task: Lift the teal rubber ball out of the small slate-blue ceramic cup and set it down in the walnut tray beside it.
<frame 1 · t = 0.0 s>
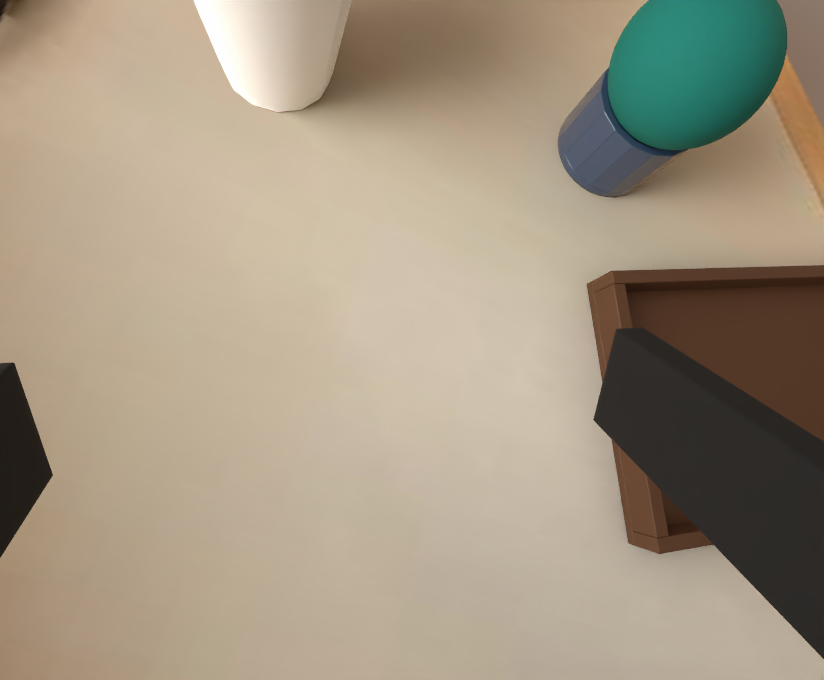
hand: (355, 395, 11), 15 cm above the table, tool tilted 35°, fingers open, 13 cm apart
foam cup: (278, 67, 29), on the table
ball: (690, 67, 25), point 8 cm above the table, touching cup
cup: (602, 151, 33), on the table
tray: (752, 393, 32), on the table
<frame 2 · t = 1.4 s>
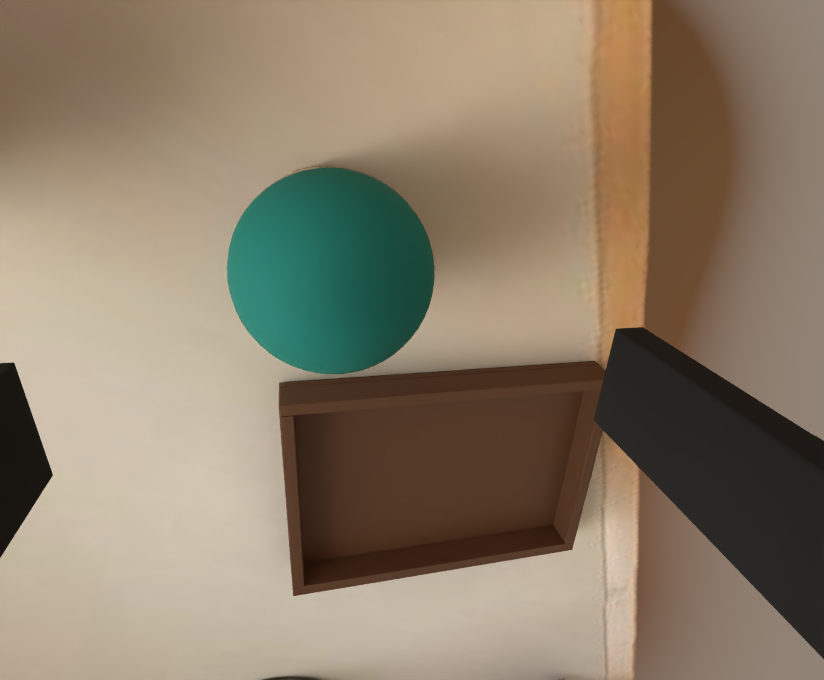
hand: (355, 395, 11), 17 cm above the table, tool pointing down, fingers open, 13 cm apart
ball: (334, 273, 19), point 8 cm above the table, touching cup
tray: (440, 465, 35), on the table
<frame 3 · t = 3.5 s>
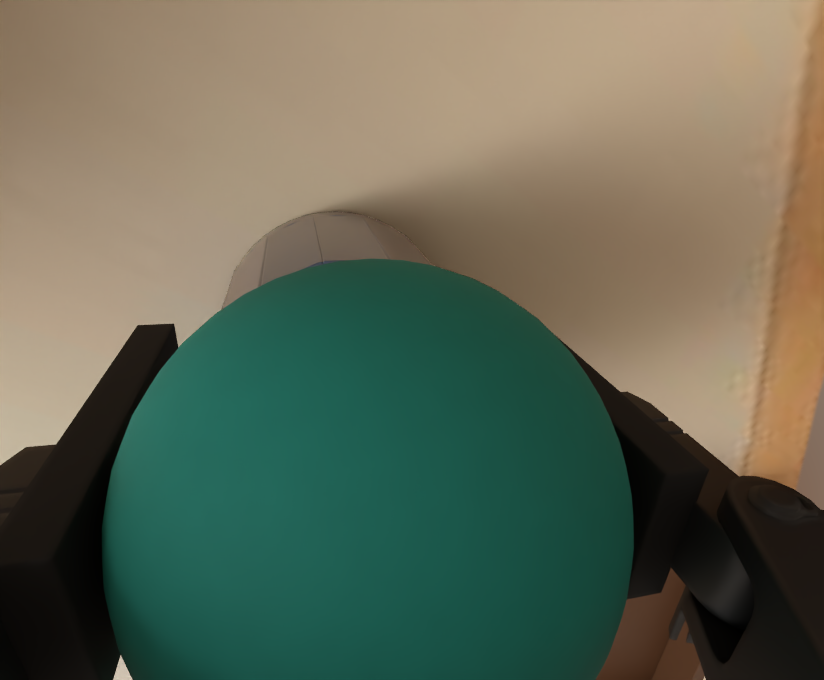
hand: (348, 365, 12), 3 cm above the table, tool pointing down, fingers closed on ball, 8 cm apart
ball: (377, 494, 8), point 8 cm above the table, touching cup, gripper
cup: (337, 317, 15), on the table
tray: (505, 624, 24), on the table
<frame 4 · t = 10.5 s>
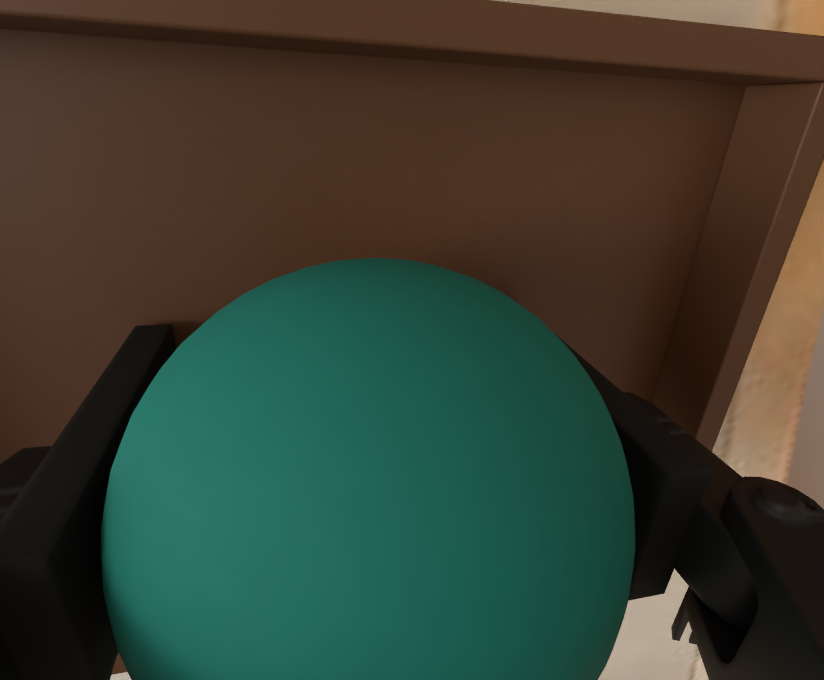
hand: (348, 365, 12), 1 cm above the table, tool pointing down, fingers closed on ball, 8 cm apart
ball: (378, 494, 8), point 6 cm above the table, touching gripper
tray: (339, 353, 13), on the table
when the fingers open (1 cm above the table, at t = 14.9 s): ball drops 1 cm and tips over, resting on tray.
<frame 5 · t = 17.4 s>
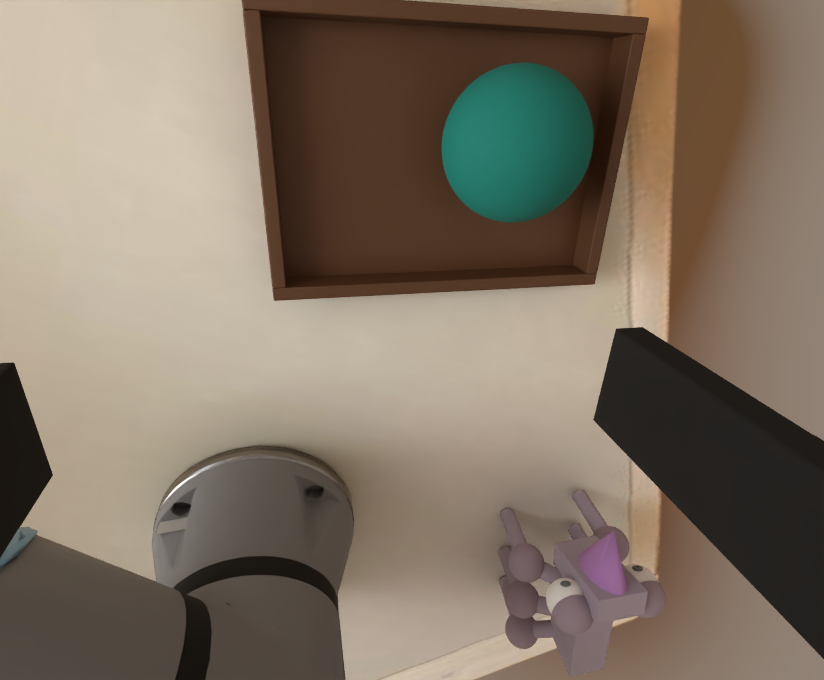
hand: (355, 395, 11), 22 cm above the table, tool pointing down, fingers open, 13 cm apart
ball: (515, 146, 26), point 5 cm above the table, tilted 45°, touching tray
tray: (441, 160, 30), on the table
toy sheep: (536, 509, 47), on the table
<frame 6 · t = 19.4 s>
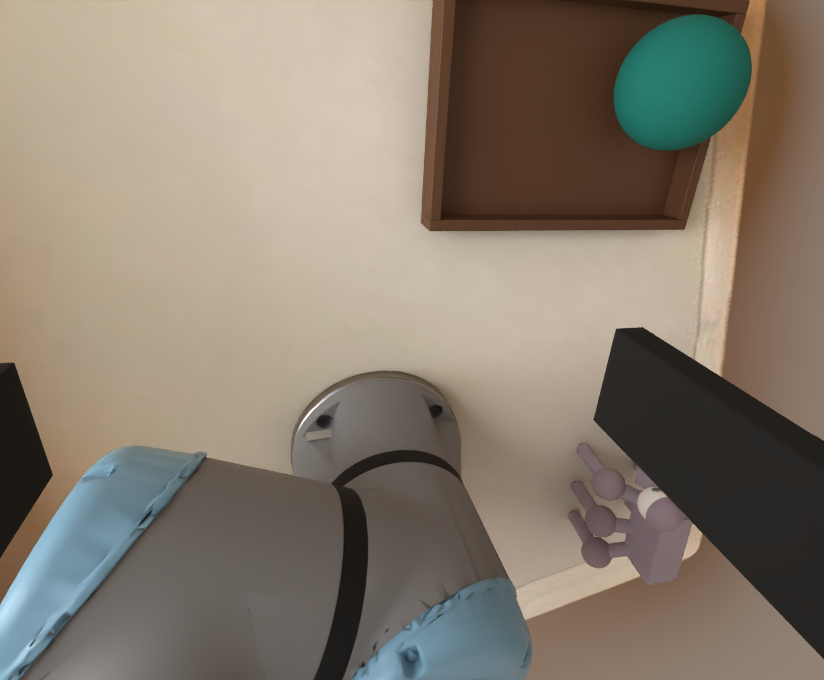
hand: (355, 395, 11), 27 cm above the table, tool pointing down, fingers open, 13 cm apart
ball: (678, 86, 32), point 5 cm above the table, tilted 82°, touching tray
tray: (566, 117, 36), on the table
toy sheep: (607, 446, 53), on the table
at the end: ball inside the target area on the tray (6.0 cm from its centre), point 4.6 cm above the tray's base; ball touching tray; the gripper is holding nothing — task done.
